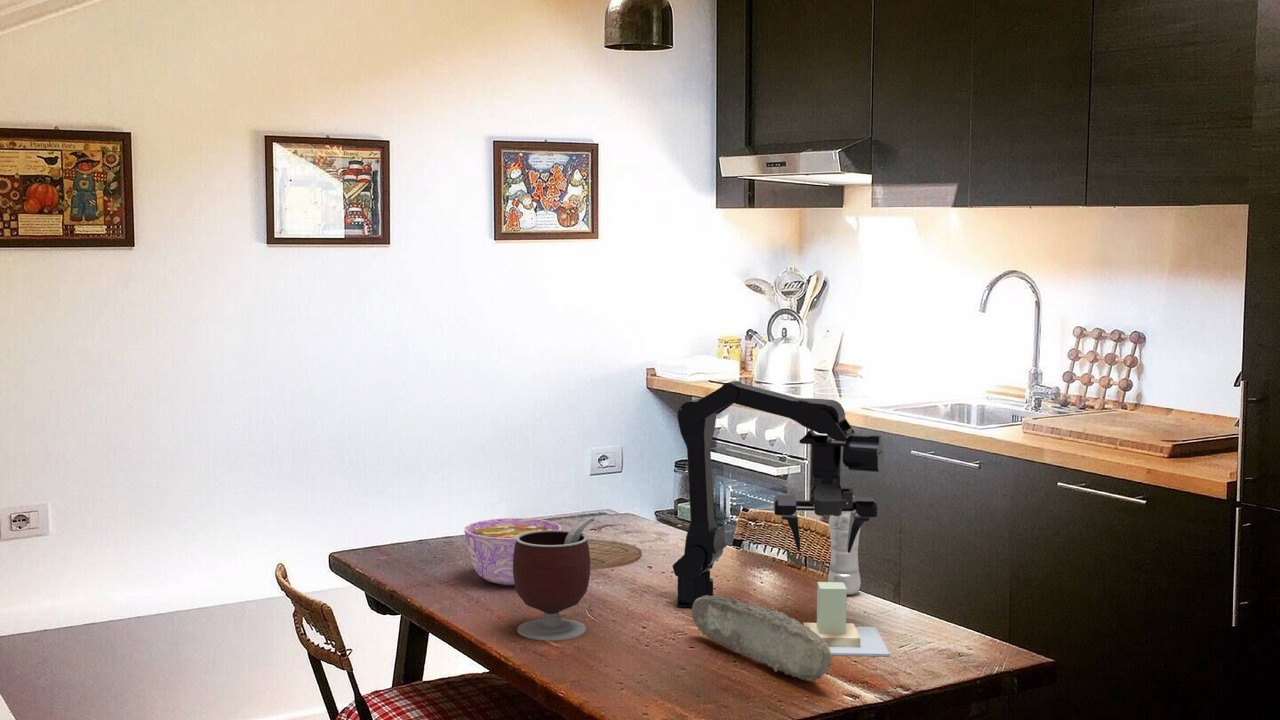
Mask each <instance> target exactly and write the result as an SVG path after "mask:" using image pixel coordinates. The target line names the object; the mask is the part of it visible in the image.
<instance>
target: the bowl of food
mask: <svg viewBox="0 0 1280 720" xmlns="http://www.w3.org/2000/svg"><path fill="white" fill-rule="evenodd" d="M544 530H562V526H561V525H560V524H559V523H556V522H554V521H549V520H546V519H545V520H544V519H539V518H538V519H537V518H524V517H507V518H493V519H486V520H480V521H477V522H472V523H470V524H468V525H466V526H465V527H464V530H463V531H464V536H465V540H466V543H467V548H468V553H469V556H470V561H471V563H472V566H473V567H472V568H473V569H474V570H475V572H476V573H477V575H478V576H479V577H481V578H482V579H484V580H485V581H487V582H490V583H494V584H498V585H501V586H502V585H503V586H515V583H514V577H513V555H514V548H515V543H516V537H517V536H518V535H520V534H524V533H528V532H534V531H544Z"/></svg>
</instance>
